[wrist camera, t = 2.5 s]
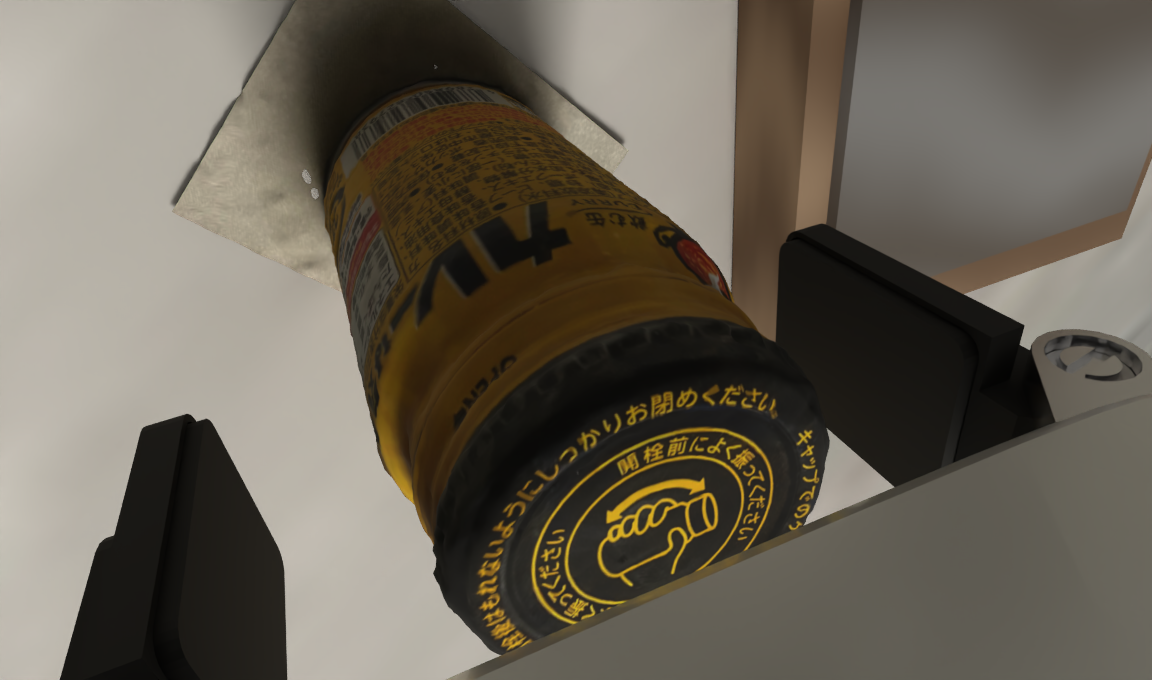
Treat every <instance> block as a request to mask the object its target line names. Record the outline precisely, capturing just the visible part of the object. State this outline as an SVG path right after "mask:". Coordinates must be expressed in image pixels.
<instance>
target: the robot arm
mask: <svg viewBox="0 0 1152 680" xmlns="http://www.w3.org/2000/svg"><path fill="white" fill-rule="evenodd" d="M1024 326H1025V325H1023V324H1021V323H1019V322H1017V321H1015V320H1013V319H1011V318H1009V317H1007V316H1005V315H1003V314H1001V313H999V312H997V311H995V310H993V309H991V308H989V307H987V306H985V305H983V304H982V303H980V302H978V301H976V300H974V299H972V298H970V297H968V296H966V295H964V294H962V293H960V292H958V291H956V290H954V289H952V288H950V287H948V286H946V285H944V284H942V283H940V282H938V281H936V280H934V279H932V278H930V277H929V276H927V275H925V274H923V273H921V272H919V271H917V270H915V269H913V268H911V267H909V266H907V265H905V264H903V263H901V262H899V261H897V260H895V259H893V258H891V257H889V256H887V255H885V254H883V253H881V252H879V251H878V250H876V249H874V248H872V247H870V246H868V245H866V244H864V243H862V242H860V241H858V240H856V239H854V238H852V237H850V236H848V235H846V234H844V233H842V232H840V231H838V230H836V229H834V228H832V227H830V226H828V225H826V224H817V225H814V226H810V227H807V228H804V229H800V230H797V231H794V232H791V233H790V234H789V235H788V237H787V239H786V243H784V244H782V246H781V248H780V251H779V269H778V293H777V316H776V340H775V342H776V343H777V344H778V345H780V346H781V347H783V348H784V349H785V350H786V351H787V353H788V355H789V356H790V357H791V358H792V359H793V360H794V361H795V362H796V364H797V365H798V366H800V367H801V368H802V370H803V372H804V374H805V375H806V377H807V379H808V380H809V381H810V382H811V383H812V385H813V386H814V389H815V391H816V394H817V397H818V400H819V404H820V408H821V412H822V414H823V417H824V420H825V425H826V428H828V429H829V430H830V431H831V432H832V433H833V434H834V435H836V436H837V437H838V438H839V439H840V440H841V441H842V442H844V443H845V444H846V445H847V446H848V447H849V448H851V449H852V450H853V451H854V452H855V453H856V454H857V455H859V456H860V457H861V458H862V459H863V460H864V461H865V462H867V463H868V464H869V465H870V466H871V467H872V468H873V469H875V470H876V471H877V472H878V473H879V474H880V475H881V476H883V477H884V478H885V479H886V480H887V481H888V482H889V483H891V484H892V485H893V486H894V487H895V488H892V489H890V490H887V491H885V492H883V493H880V494H878V495H876V496H873V497H871V498H868V499H866V500H864V501H861V502H859V503H856V504H854V505H852V506H849V507H847V508H844V509H842V510H840V511H837V512H835V513H833V514H830V515H828V516H825V517H823V518H821V519H818V520H816V521H814V522H811V523H809V524H807V525H804V526H802V527H800V528H797V529H795V530H793V531H790V532H788V533H785V534H783V535H781V536H778V537H776V538H774V539H771V540H769V541H767V542H764V543H762V544H760V545H757V546H755V547H752V548H750V549H748V550H745V551H743V552H741V553H738V554H736V555H734V556H731V557H729V558H727V559H724V560H722V561H720V562H717V563H715V564H713V565H710V566H708V567H706V568H703V569H701V570H699V571H696V572H694V573H692V574H689V575H687V576H684V577H682V578H680V579H677V580H675V581H673V582H670V583H668V584H666V585H663V586H661V587H659V588H656V589H654V590H652V591H649V592H647V593H645V594H642V595H640V596H638V597H635V598H633V599H631V600H628V601H626V602H624V603H622V604H619V605H617V606H615V607H612V608H610V609H608V610H605V611H603V612H601V613H598V614H596V615H594V616H591V617H589V618H587V619H585V620H582V621H580V622H578V623H575V624H573V625H571V626H568V627H566V628H564V629H561V630H559V631H557V632H554V633H552V634H550V635H547V636H545V637H543V638H541V639H538V640H536V641H534V642H531V643H529V644H527V645H524V646H522V647H520V648H517V649H515V650H513V651H510V652H508V653H506V654H504V655H501V656H499V657H497V658H494V659H492V660H490V661H487V662H485V663H483V664H480V665H478V666H476V667H473V668H471V669H469V670H467V671H464V672H462V673H460V674H457V675H455V676H453V677H451V678H449V679H446V680H1152V358H1151V357H1150V356H1149V354H1148V353H1147V352H1145V351H1144V350H1142V349H1141V348H1139V347H1138V346H1136V345H1134V344H1133V343H1130V342H1128V341H1126V340H1123V339H1121V338H1118V337H1116V336H1112V335H1108V334H1104V333H1100V332H1095V331H1088V330H1080V329H1069V330H1057V331H1052V332H1047V333H1045V334H1043V335H1041V336H1039V337H1037V338H1036V340H1035V341H1034V342H1033V343H1032V345H1031V349H1030V350H1028V349H1026V348H1024V347H1022V346H1021V345H1019V344H1020V340H1021V337H1022V333H1023V329H1024ZM60 680H287V654H286V618H285V582H284V566H283V561H282V557H281V554H280V551H279V549H278V546H277V544H276V542H275V541H274V539H273V537H272V535H271V533H270V531H269V529H268V527H267V525H266V524H265V522H264V520H263V518H262V516H261V514H260V512H259V510H258V508H257V507H256V505H255V503H254V501H253V499H252V497H251V495H250V493H249V491H248V490H247V488H246V486H245V484H244V482H243V480H242V478H241V476H240V474H239V473H238V471H237V469H236V467H235V465H234V463H233V461H232V459H231V457H230V455H229V454H228V452H227V450H226V448H225V446H224V444H223V442H222V440H221V438H220V437H219V435H218V433H217V431H216V429H215V427H214V426H213V424H212V422H211V421H210V420H208V419H204V420H201V421H197V422H196V420H195V419H194V418H193V417H192V416H191V415H189V414H185V415H182V416H178V417H175V418H172V419H168V420H165V421H162V422H158V423H155V424H152V425H148V426H145V427H143V429H142V431H141V433H140V437H139V441H138V445H137V449H136V453H135V457H134V461H133V464H132V468H131V472H130V476H129V480H128V484H127V488H126V492H125V496H124V500H123V504H122V507H121V511H120V515H119V519H118V523H117V527H116V531H115V535H114V536H111V537H108V538H106V539H104V540H103V541H102V542H101V543H100V544H99V546H98V548H97V550H96V552H95V556H94V559H93V563H92V566H91V570H90V574H89V577H88V581H87V584H86V588H85V591H84V595H83V599H82V602H81V606H80V609H79V613H78V617H77V620H76V624H75V627H74V631H73V634H72V638H71V642H70V645H69V649H68V652H67V656H66V659H65V663H64V667H63V670H62V674H61V677H60Z"/></svg>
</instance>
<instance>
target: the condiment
mask: <svg viewBox="0 0 1152 680" xmlns="http://www.w3.org/2000/svg"><path fill="white" fill-rule="evenodd" d="M434 64H435V65H436V66H438V68H437V69H434ZM627 152H628V150H627V149H626V148H624V147H623V146H622V145H621V144H620V143H618V142H617V141H616V140H615V139H614V138H612V137H611V136H610V135H609V134H607V133H606V132H605V131H604V130H603V129H601V128H600V127H599V126H598V125H597V124H595V123H594V122H593V121H592V120H590V119H589V118H588V117H587V116H586V115H584V114H583V113H582V112H581V111H580V110H578V109H577V108H576V107H575V106H574V105H572V104H571V103H570V102H569V101H567V100H566V99H565V98H564V97H563V96H561V95H560V94H559V93H558V92H557V91H555V90H554V89H553V88H552V87H550V86H549V85H548V84H547V83H546V82H545V81H543V80H542V79H541V78H540V77H538V76H537V75H536V74H535V73H534V72H533V71H531V70H530V69H529V68H528V67H526V66H525V65H524V64H523V63H522V62H520V61H519V60H518V59H517V58H516V57H514V56H513V55H512V54H511V53H510V52H508V51H507V49H506V48H504V47H502V46H501V45H500V44H499V43H498V42H496V41H495V40H494V39H493V38H492V37H491V36H489V35H488V34H487V33H486V32H485V31H483V30H482V29H481V28H480V27H478V26H477V25H476V24H474V23H473V22H472V21H471V20H470V19H469V18H468V17H466V16H465V15H464V14H463V13H461V12H460V11H459V10H458V9H457V8H455V7H454V6H453V5H452V4H451V3H450V2H449V1H447V0H296V1H295V3H294V4H293V6H292V8H291V9H290V11H289V13H288V15H287V17H286V19H285V20H284V21H283V23H282V24H281V26H280V27H279V29H278V31H277V33H276V35H275V36H274V38H273V40H272V42H271V44H270V45H269V47H268V49H267V50H266V52H265V53H264V55H263V57H262V59H261V60H260V62H259V64H258V65H257V67H256V69H255V71H254V72H253V74H252V76H251V77H250V79H249V81H248V83H247V84H246V86H245V88H244V89H243V91H242V94H241V95H240V96H239V97H238V98H237V100H236V102H235V104H234V106H233V108H232V110H231V112H230V113H229V115H228V117H227V119H226V120H225V122H224V124H223V127H222V128H221V129H220V131H219V132H218V134H217V136H216V138H215V139H214V141H213V143H212V144H211V146H210V147H209V149H208V151H207V153H206V154H205V156H204V158H203V159H202V161H201V163H200V165H199V167H198V169H197V170H196V172H195V173H194V175H193V177H192V179H191V180H190V182H189V184H188V185H187V187H186V189H185V191H184V192H183V194H182V196H181V197H180V199H179V201H178V203H177V204H176V206H175V208H174V209H173V211H172V212H173V213H175V214H177V215H179V216H181V217H184V218H186V219H188V220H190V221H192V222H194V223H196V224H198V225H200V226H202V227H203V228H205V229H208V230H210V231H212V232H214V233H216V234H218V235H221V236H223V237H225V238H228V239H230V240H233V241H235V242H237V243H239V244H241V245H243V246H245V247H247V248H248V249H250V250H252V251H254V252H255V253H257V254H260V255H262V256H264V257H266V258H269V259H272V260H275V261H277V262H279V263H281V264H283V265H285V266H287V267H289V268H291V269H293V270H294V271H296V272H298V273H300V274H302V275H304V276H307V277H310V278H312V279H314V280H317V281H318V282H320V283H322V284H324V285H327V286H330V287H332V288H334V289H336V290H338V291H341V292H342V293H343V297H344V301H345V304H346V309H347V314H348V319H349V323H350V332H351V336H352V337H353V341H354V346H355V351H356V355H357V362H358V367H359V371H360V374H361V376H362V381H363V387H364V390H365V396H366V400H367V404H368V407H369V411H370V417H371V420H372V424H373V427H374V432H375V435H376V442H377V449H378V453H379V456H380V458H381V461H382V464H383V466H384V469H385V470H386V472H387V473H388V474H389V475H390V476H391V477H392V478H393V480H394V481H395V482H396V484H397V485H398V487H399V488H400V490H401V491H402V493H403V494H404V496H405V497H406V498H408V499H409V500H410V501H411V502H412V503H413V504H414V505H415V507H416V510H417V513H418V516H419V519H420V522H421V524H422V527H423V529H424V531H425V532H426V533H427V535H428V536H429V537H430V539H431V540H432V542H433V544H434V546H433V552H434V554H435V557H436V568H435V570H434V573H433V574H434V576H435V578H436V580H437V582H438V584H439V585H440V589H441V591H442V594H443V597H444V599H445V601H446V603H447V605H448V607H449V608H450V609H452V610H453V612H454V613H456V614H457V615H458V616H459V617H460V618H461V619H462V620H463V621H464V623H465V624H466V625H467V626H468V627H469V628H470V629H471V630H472V632H473V633H475V634H476V635H477V636H478V637H479V638H480V639H481V640H482V642H483V643H484V644H485V645H486V646H487V647H488V648H489V649H490V650H491V651H493V652H495V653H497V654H499V655H504V654H506V653H508V652H510V651H513V650H515V649H517V648H520V647H522V646H524V645H527V644H529V643H531V642H534V641H536V640H538V639H541V638H543V637H545V636H547V635H550V634H552V633H554V632H557V631H559V630H561V629H564V628H566V627H568V626H571V625H573V624H575V623H578V622H580V621H582V620H585V619H587V618H589V617H591V616H594V615H596V614H598V613H601V612H603V611H605V610H608V609H610V608H612V607H615V606H617V605H619V604H622V603H624V602H626V601H628V600H631V599H633V598H635V597H638V596H640V595H642V594H645V593H647V592H649V591H652V590H654V589H656V588H659V587H661V586H663V585H666V584H668V583H670V582H673V581H675V580H677V579H680V578H682V577H684V576H687V575H689V574H692V573H694V572H696V571H699V570H701V569H703V568H706V567H708V566H710V565H713V564H715V563H717V562H720V561H722V560H724V559H727V558H729V557H731V556H734V555H736V554H738V553H741V552H743V551H745V550H748V549H750V548H752V547H755V546H757V545H760V544H762V543H764V542H767V541H769V540H771V539H774V538H776V537H778V536H781V535H783V534H785V533H788V532H790V531H793V530H795V529H797V528H800V527H802V526H803V525H804V524H805V522H806V518H807V516H808V515H809V514H810V513H811V511H812V510H813V508H814V505H815V503H816V500H817V498H818V495H819V491H820V487H821V484H822V479H823V473H824V470H825V460H826V456H827V453H828V449H829V442H830V440H829V436H828V432H827V429H826V425H825V420H824V417H823V414H822V412H821V408H820V404H819V400H818V397H817V394H816V391H815V389H814V386H813V385H812V383H811V382H810V381H809V380H808V379H807V377H806V375H805V374H804V372H803V370H802V368H801V367H800V366H798V365H797V364H796V362H795V361H794V360H793V359H792V358H791V357H790V356H789V355H788V353H787V351H786V350H785V349H784V348H783V347H781V346H780V345H778V344H777V343H776V342H774V341H772V340H769V339H768V338H766V337H765V336H763V335H762V334H761V333H759V332H758V330H757V328H756V326H755V325H754V323H753V322H752V321H751V320H750V318H749V317H748V316H747V315H746V314H745V313H744V312H743V311H742V310H741V309H740V308H739V307H738V306H737V305H736V304H735V303H734V299H733V296H732V294H731V292H730V290H729V287H728V285H727V282H726V280H725V278H724V276H723V274H722V273H721V271H720V269H719V268H718V266H717V265H716V264H715V263H714V261H713V260H712V259H711V258H710V257H709V256H708V255H707V254H706V253H705V251H704V250H703V249H702V248H701V247H700V245H699V244H698V243H697V241H695V240H693V239H692V238H691V237H690V236H689V235H688V234H687V233H686V232H685V231H684V230H683V229H681V228H680V227H679V226H678V225H677V224H675V223H674V222H673V221H672V220H671V219H670V218H669V217H668V216H666V215H665V214H663V213H661V212H660V211H659V210H658V209H657V208H655V207H654V206H652V205H651V204H650V203H649V202H648V201H647V200H646V199H644V198H642V197H641V196H639V195H638V194H637V193H636V192H634V191H633V190H631V189H630V188H629V187H627V186H626V185H624V184H623V182H621V181H619V180H618V179H616V178H615V177H614V176H613V175H612V173H613V172H614V170H615V169H616V168H617V166H618V165H619V164H620V162H621V161H622V159H623V158H624V157H625V155H626V154H627ZM304 169H307V171H308V172H309V174H310V176H311V180H312V181H311V184H307V183H305V181H304V179H303V177H302V172H303V170H304ZM313 187H314V188H316V189H318V192H319V197H318V198H317V199H316V200H315V199H314V198H313V197H312V195H311V189H312V188H313Z"/></svg>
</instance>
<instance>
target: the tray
mask: <svg viewBox="0 0 1152 680" xmlns="http://www.w3.org/2000/svg"><path fill="white" fill-rule="evenodd" d="M1151 159H1152V0H739V15H738V57H737V99H736V141H735V183H734V225H733V267H732V296H733V299H734V303H735V304H736V305H737V306H738V307H739V308H740V309H741V310H742V311H743V312H744V313H745V314H746V315H747V316H748V317H749V318H750V320H751V321H752V322H753V323H754V325H755V326H756V328H757V330H758V332H759V333H761V334H762V335H763V336H765V337H766V338H768V339H769V340H772V341H774V342H775V340H776V316H777V293H778V269H779V251H780V248H781V246H782V244H784V243H786V239H787V237H788V235H789V234H790V233H791V232H794V231H797V230H800V229H804V228H807V227H810V226H814V225H817V224H826V225H828V226H830V227H832V228H834V229H836V230H838V231H840V232H842V233H844V234H846V235H848V236H850V237H852V238H854V239H856V240H858V241H860V242H862V243H864V244H866V245H868V246H870V247H872V248H874V249H876V250H878V251H879V252H881V253H883V254H885V255H887V256H889V257H891V258H893V259H895V260H897V261H899V262H901V263H903V264H905V265H907V266H909V267H911V268H913V269H915V270H917V271H919V272H921V273H923V274H925V275H927V276H929V277H930V278H932V279H934V280H936V281H938V282H940V283H942V284H944V285H946V286H948V287H950V288H952V289H954V290H956V291H958V292H960V293H962V294H965V293H968V292H971V291H974V290H976V289H979V288H982V287H985V286H988V285H991V284H993V283H996V282H999V281H1002V280H1005V279H1008V278H1010V277H1013V276H1016V275H1019V274H1022V273H1025V272H1027V271H1030V270H1033V269H1036V268H1039V267H1042V266H1044V265H1047V264H1050V263H1053V262H1056V261H1059V260H1061V259H1064V258H1067V257H1070V256H1073V255H1075V254H1078V253H1081V252H1084V251H1087V250H1090V249H1092V248H1095V247H1098V246H1101V245H1104V244H1107V243H1109V242H1112V241H1115V240H1118V239H1121V238H1122V235H1123V233H1124V230H1125V227H1126V225H1127V222H1128V220H1129V217H1130V214H1131V212H1132V209H1133V206H1134V204H1135V201H1136V198H1137V196H1138V193H1139V191H1140V188H1141V185H1142V183H1143V180H1144V177H1145V175H1146V172H1147V170H1148V167H1149V164H1150V162H1151Z"/></svg>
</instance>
